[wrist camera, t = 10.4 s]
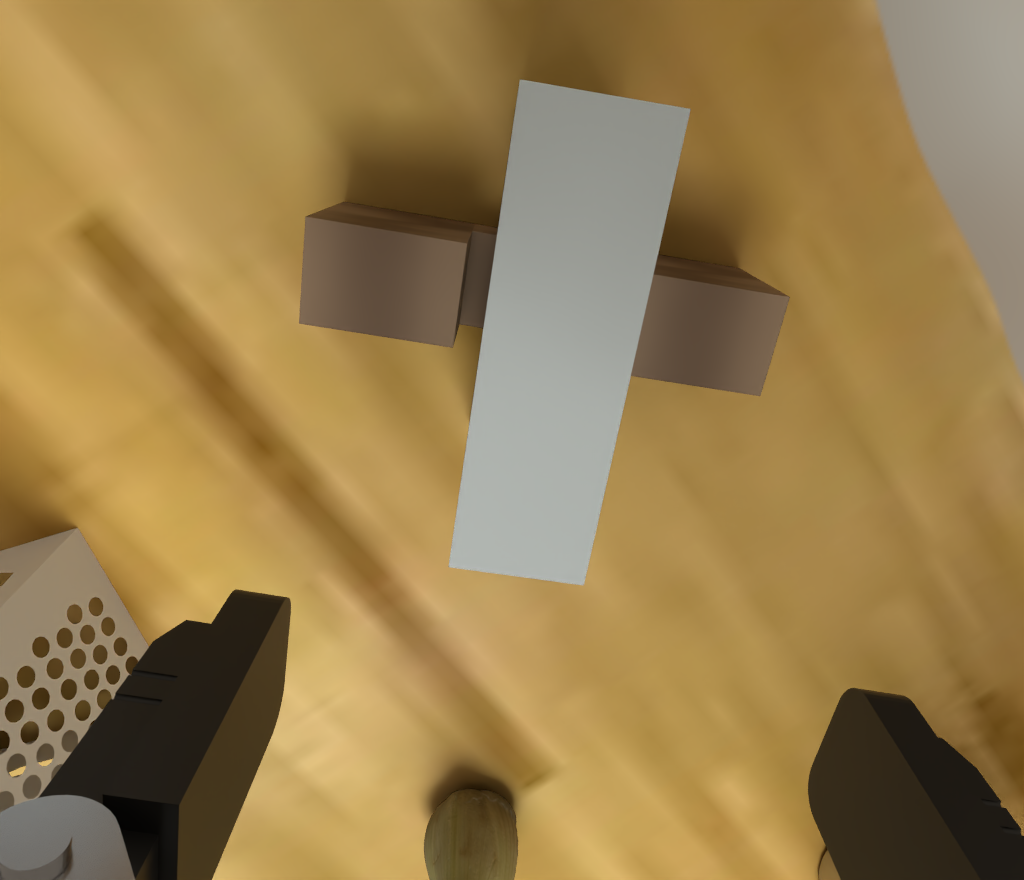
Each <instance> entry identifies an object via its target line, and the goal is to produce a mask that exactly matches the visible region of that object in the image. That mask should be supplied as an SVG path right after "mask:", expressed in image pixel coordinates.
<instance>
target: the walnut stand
mask: <svg viewBox="0 0 1024 880" xmlns="http://www.w3.org/2000/svg"><path fill="white" fill-rule="evenodd" d="M497 231H498V228H497V227H491V226H485V225H479V224H473V223H467V222H461V221H455V220H449V219H443V218H437V217H431V216H425V215H419V214H413V213H407V212H401V211H395V210H389V209H383V208H377V207H371V206H366V205H360V204H354V203H348V202H342V203H340V204H337V205H335V206H332V207H329V208H327V209H324V210H322V211H319V212H316V213H314V214H311V215H309V216H306V218H305V235H304V251H303V268H302V284H301V301H300V317H299V324H306V325H312V326H318V327H325V328H331V329H337V330H344V331H350V332H356V333H363V334H369V335H375V336H382V337H388V338H394V339H401V340H407V341H414V342H420V343H426V344H433V345H439V346H445V347H452V348H453V345H454V342H455V338H456V334H457V331H458V327H459V324H461V325H467V326H474V327H480V328H483V327H484V320H485V314H486V307H487V300H488V293H489V286H490V279H491V273H492V266H493V259H494V252H495V245H496V238H497ZM789 298H790V297H789V296H787V295H785V294H783V293H782V292H780V291H778V290H776V289H775V288H773V287H771V286H770V285H768V284H766V283H764V282H763V281H761V280H759V279H757V278H756V277H754V276H752V275H750V274H749V273H747V272H745V271H743V270H742V269H740V268H735V267H729V266H723V265H717V264H711V263H705V262H699V261H693V260H687V259H681V258H675V257H669V256H663V255H658V256H657V261H656V265H655V270H654V274H653V279H652V283H651V288H650V292H649V296H648V301H647V305H646V310H645V314H644V319H643V323H642V328H641V332H640V337H639V341H638V346H637V350H636V354H635V359H634V363H633V368H632V372H631V376H636V377H642V378H648V379H655V380H661V381H667V382H674V383H680V384H686V385H693V386H699V387H705V388H712V389H718V390H724V391H731V392H737V393H743V394H750V395H756V396H760V395H761V392H762V389H763V385H764V382H765V379H766V375H767V372H768V369H769V365H770V362H771V358H772V355H773V352H774V348H775V345H776V342H777V338H778V335H779V332H780V328H781V325H782V322H783V318H784V315H785V312H786V308H787V305H788V301H789Z"/></svg>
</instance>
